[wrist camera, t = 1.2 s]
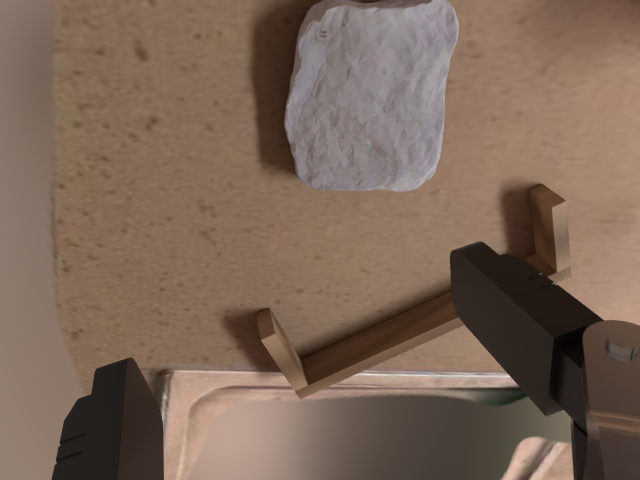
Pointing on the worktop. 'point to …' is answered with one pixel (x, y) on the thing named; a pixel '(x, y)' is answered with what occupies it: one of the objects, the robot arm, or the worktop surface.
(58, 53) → the worktop surface
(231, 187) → the worktop surface
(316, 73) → the stone block
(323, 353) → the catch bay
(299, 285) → the worktop surface
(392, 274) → the worktop surface
